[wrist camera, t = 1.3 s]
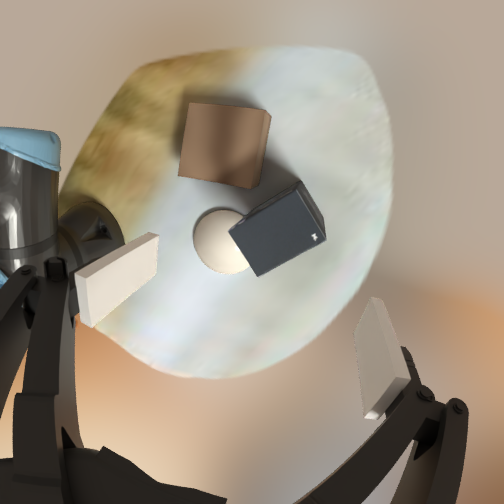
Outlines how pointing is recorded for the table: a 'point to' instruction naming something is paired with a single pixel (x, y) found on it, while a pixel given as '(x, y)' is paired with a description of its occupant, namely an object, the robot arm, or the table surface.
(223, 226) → the coaster
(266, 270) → the box
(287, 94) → the table surface
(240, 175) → the block
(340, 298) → the table surface
